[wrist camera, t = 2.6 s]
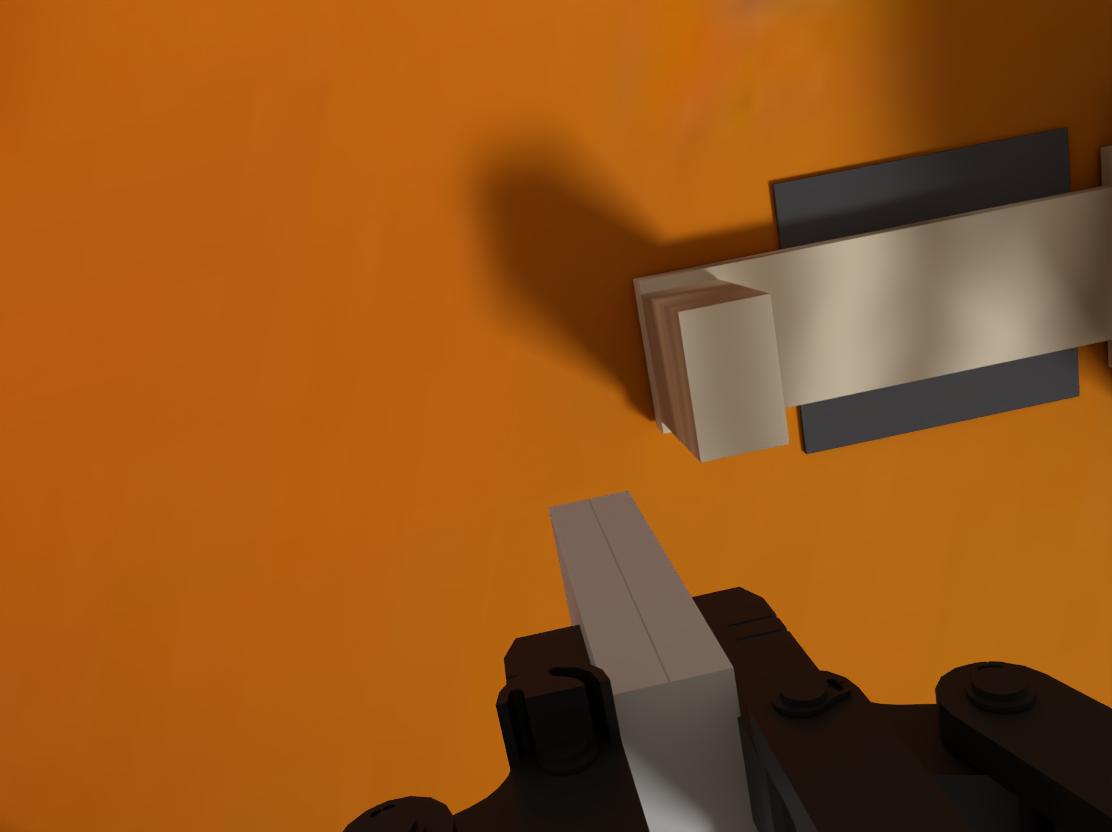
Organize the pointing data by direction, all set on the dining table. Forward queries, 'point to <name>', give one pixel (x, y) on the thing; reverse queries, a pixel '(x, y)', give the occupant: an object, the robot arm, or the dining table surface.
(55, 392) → the dining table surface
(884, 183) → the dark grey square plate
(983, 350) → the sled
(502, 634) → the dining table surface
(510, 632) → the dining table surface
